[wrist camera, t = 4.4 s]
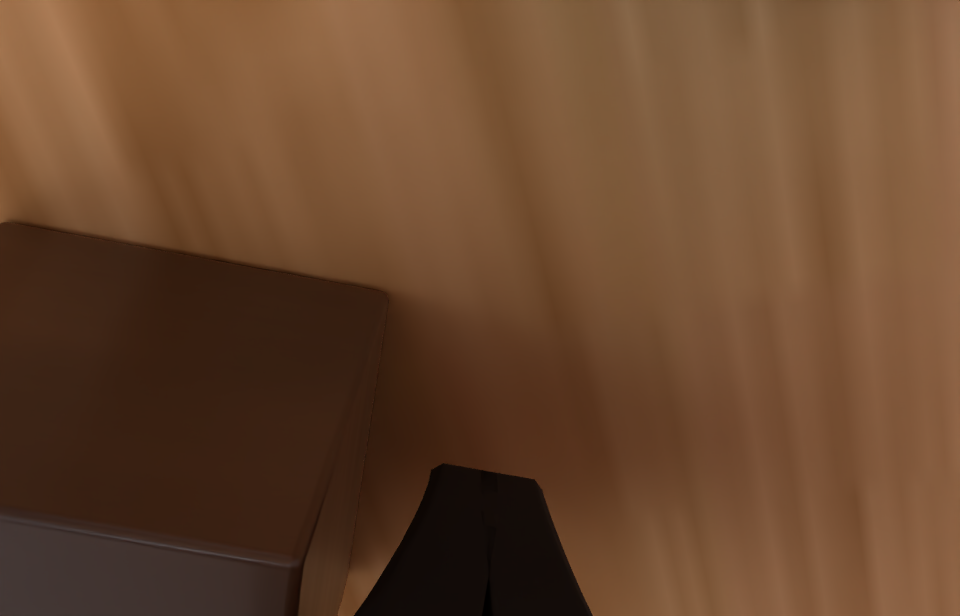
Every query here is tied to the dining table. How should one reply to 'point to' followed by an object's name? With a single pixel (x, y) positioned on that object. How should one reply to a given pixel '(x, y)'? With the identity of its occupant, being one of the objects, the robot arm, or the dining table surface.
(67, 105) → the dining table surface
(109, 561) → the block middle
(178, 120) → the dining table surface
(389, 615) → the robot arm
